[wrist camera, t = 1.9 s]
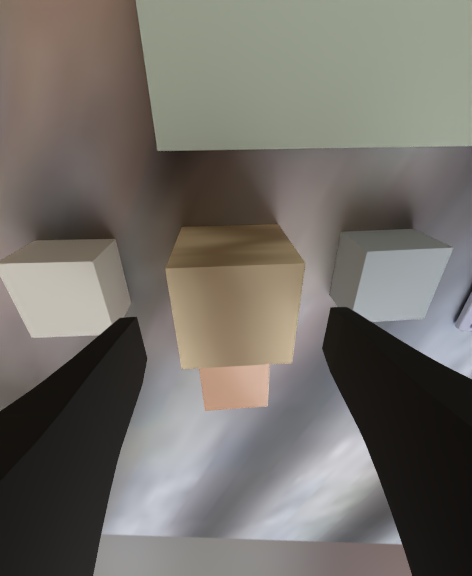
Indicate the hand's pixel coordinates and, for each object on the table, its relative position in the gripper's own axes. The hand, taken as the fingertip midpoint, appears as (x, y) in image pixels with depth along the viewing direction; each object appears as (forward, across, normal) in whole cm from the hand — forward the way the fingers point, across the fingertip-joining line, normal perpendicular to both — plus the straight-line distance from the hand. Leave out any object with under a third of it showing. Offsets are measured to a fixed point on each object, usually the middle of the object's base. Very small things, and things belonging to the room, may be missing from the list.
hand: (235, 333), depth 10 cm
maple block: (+6, 0, 0) cm, 6 cm away
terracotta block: (+6, 0, +6) cm, 9 cm away
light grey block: (+6, +8, 0) cm, 10 cm away
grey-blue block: (+6, -8, 0) cm, 10 cm away
